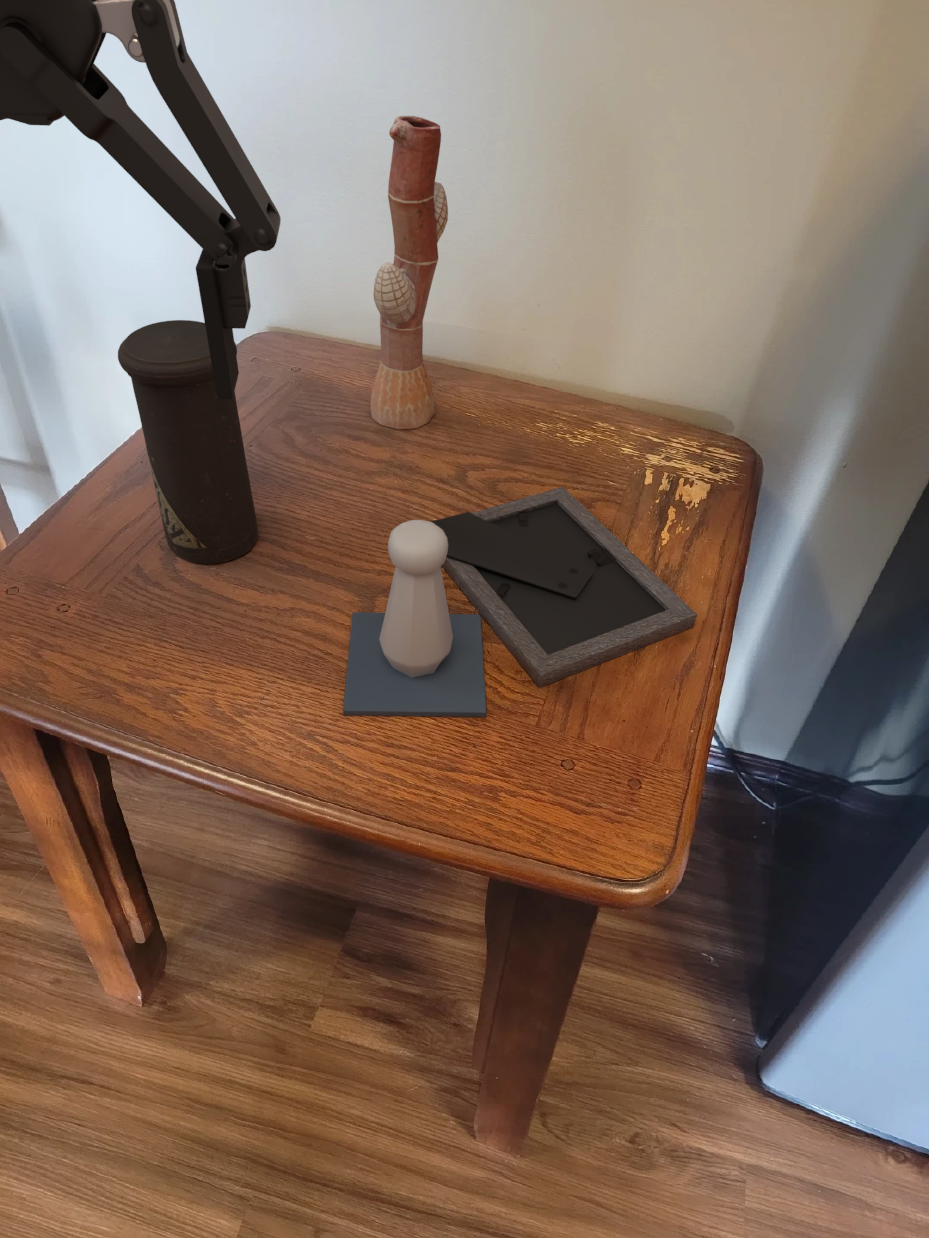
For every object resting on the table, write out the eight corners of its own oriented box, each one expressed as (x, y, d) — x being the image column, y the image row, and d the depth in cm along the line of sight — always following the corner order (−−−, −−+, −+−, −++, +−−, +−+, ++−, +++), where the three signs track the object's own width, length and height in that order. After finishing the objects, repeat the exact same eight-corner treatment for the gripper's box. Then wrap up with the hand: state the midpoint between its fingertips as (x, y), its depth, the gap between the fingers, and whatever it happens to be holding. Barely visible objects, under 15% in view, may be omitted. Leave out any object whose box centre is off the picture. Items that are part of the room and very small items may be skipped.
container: (184, 505, 83) (141, 306, 70) (274, 516, 83) (248, 317, 69) (148, 560, 77) (93, 353, 63) (245, 572, 76) (210, 367, 63)
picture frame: (421, 540, 81) (538, 688, 68) (421, 523, 80) (541, 671, 67) (560, 499, 87) (693, 627, 74) (563, 482, 86) (698, 610, 73)
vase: (391, 438, 94) (388, 136, 73) (353, 411, 98) (339, 116, 77) (463, 410, 99) (480, 120, 78) (424, 385, 103) (430, 102, 82)
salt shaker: (424, 696, 66) (427, 569, 57) (365, 665, 68) (360, 538, 59) (464, 652, 70) (474, 526, 61) (408, 624, 72) (409, 498, 63)
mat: (343, 715, 65) (342, 710, 65) (352, 616, 73) (352, 611, 73) (486, 717, 66) (486, 712, 65) (480, 619, 74) (480, 614, 73)
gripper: (313, -174, 32) (341, 352, 47) (-405, -221, 30) (-139, 348, 44) (301, -170, 27) (337, 424, 41) (-576, -227, 24) (-209, 423, 39)
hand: (91, 385), depth 43 cm, fingers open, 13 cm apart
